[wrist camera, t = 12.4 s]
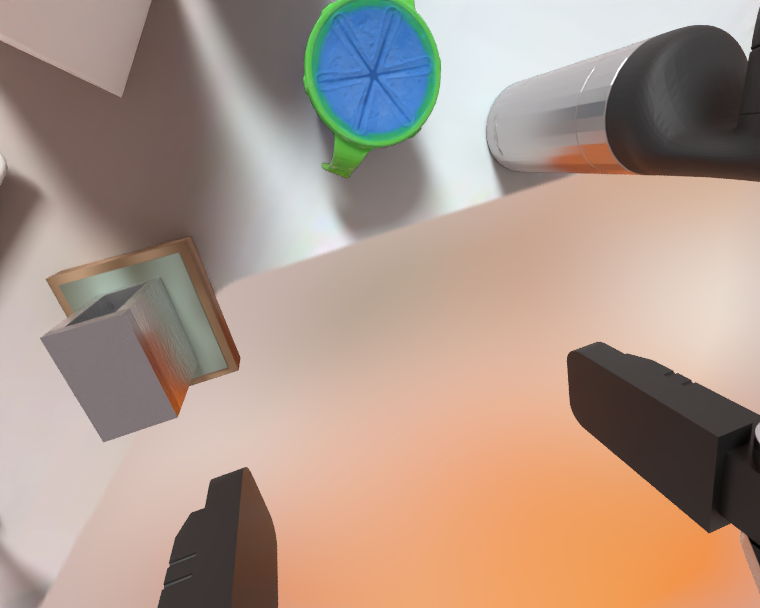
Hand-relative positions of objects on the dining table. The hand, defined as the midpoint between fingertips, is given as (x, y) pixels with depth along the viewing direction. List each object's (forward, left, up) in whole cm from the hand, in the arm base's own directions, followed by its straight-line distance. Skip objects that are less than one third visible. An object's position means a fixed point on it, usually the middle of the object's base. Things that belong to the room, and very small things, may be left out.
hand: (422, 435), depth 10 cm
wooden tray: (+17, +5, -36) cm, 40 cm away
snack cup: (-8, -11, -36) cm, 39 cm away
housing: (+17, +5, -33) cm, 37 cm away
